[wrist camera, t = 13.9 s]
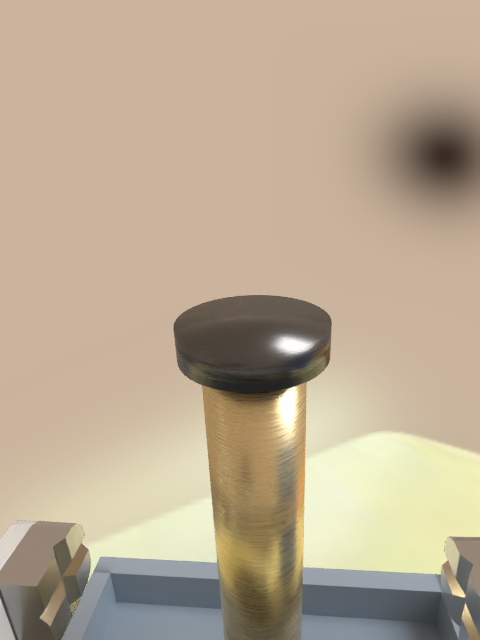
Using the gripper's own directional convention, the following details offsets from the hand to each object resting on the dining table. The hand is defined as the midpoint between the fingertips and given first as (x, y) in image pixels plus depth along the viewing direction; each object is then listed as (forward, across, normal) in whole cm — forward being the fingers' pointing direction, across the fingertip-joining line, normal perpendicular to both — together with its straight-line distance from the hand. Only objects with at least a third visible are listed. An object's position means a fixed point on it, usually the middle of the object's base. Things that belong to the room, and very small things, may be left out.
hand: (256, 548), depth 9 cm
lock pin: (+2, 0, -11) cm, 11 cm away
